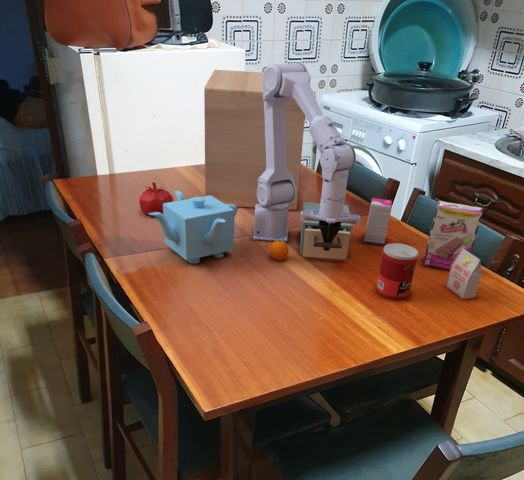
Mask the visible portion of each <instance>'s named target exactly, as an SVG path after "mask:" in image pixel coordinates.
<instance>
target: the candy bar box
mask: <svg viewBox="0 0 524 480" xmlns="http://www.w3.org/2000/svg"><path fill="white" fill-rule="evenodd" d="M483 210H484V209H483V207H478V206H475V205H474V206H473V205H466V204H461V203H455V202H449V201H443V200H438V201H437V205H436V208H435V212H434V216H433V219H432V223H431V227H430V231H429V236H428V238H427V244H426V247H425V250H424V255H423V259H422V266H424V267H425V266H426V267H429V268H430V267H431V268H436V269H440V270H441V269H442V270H445V271H450V268H451V265H452V263H453V262H454V260H455V259H456V257H457V256H458V254H459V252H460V250H461V248H462V249H465V250H466V251H468V252H469V253H471V254H472V249H473V246H474V243H475V240H476V236H477V233H478V230H479V227H480V224H481V220H482V216H483V212H484V211H483Z"/></svg>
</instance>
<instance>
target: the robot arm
mask: <svg viewBox="0 0 524 480" xmlns="http://www.w3.org/2000/svg"><path fill="white" fill-rule="evenodd" d="M262 73H263V74H262V84H263V100H264V116H265V142H266V171H265V172H264V173H263V174H262V175H261V176H260V177H259V178H258V188H257V199H258V201H259V203H260V204H256V206H255V208H254V219H253V221H254V222H253V224H252V225H253V226H252V230H253V237H252V238H253V240H257V241H268V242H269V241H272V242H274V241H277V240H281V241H284V242H285V243H287V242H288V237H289V236H288V234H289V230H288V218H289V217H288V216H289V210H288V207H289V206H291V202H292V201H293V200H294V199H295V197H296V187H295V184H294V176H293V175H292V174H291V173H290V172H289V171H288V170H287V169H286V125H285V105H286V104H287V102H288V101H289V100H290V99H291V98H293V99H295V101H296V102H297V104H298V105H299V107H300V108H301V110H302V111H303V113H304V114H305V118H306V119H307V120H308V122H309V128H308V133H309V134H310V136H311V138H312V140H313V141H314V143H315V145H316V147H317V149H318V151H319V153H320V156H319V164H320V167H321V177H322V185H321V195H320V202H319V203H320V210H318V211H303V210H301V211H300V222H301V221H305V220H307V221H319V228H320V230H321V233H322V237H323V242H325V243H332V242H333V239H334V238H335V236H336V234H337V233H338V232H339V230H340V228H341V223H348V224H352V225H355V226H360V225H361V215H360V214H355V213H350V212H349V213H350V214H349V213H344V212H343V208H344V205H345V199H346V193H347V186H348V178H349V172H350V171H349V170H351V169H352V168H353V167H354V166H355V163H356V160H357V154H356V150H355V148H354V146H353V144H351V143H350V142H347V141H346V140H344V139H343V138H342V136H341V134H340V133H339V130H338V129H337V127H336V125H335V122H334V120H333V118H331V117H330V116H326V115H324V114H323V111H322V109H321V107H320V105H319V102H318V101H317V100H318V99H317V97H316V96H315V94H314V92H313V91H314V90H313V89H312V87H311V77H312V76H311V74H310V72H309V71H308V68H307V66H306V65H305V64H304V63H303V62H295V63H278V64H276V63H270V64H268V65H267V66H266V68H265V69H264V71H263V72H262ZM329 223H330V225H329ZM328 232H329V234H328ZM329 250H330V248H326V247H324V251H329Z"/></svg>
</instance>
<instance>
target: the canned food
mask: <svg viewBox="0 0 524 480" xmlns="http://www.w3.org/2000/svg"><path fill="white" fill-rule="evenodd" d="M418 257H419V251H418V250H417V248H415V247H413V246H411V245H408V244H405V243H397V242H395V243H392V242H391V243H387V244H386V245H384V246H383V250H382V254H381V260H380V266H379V269H378V270H379V271H378V275H377V281H376V291H377V293H378V294H379V295H380V296H382V297H384V298H387V299H390V300H404V299H406V298H407V297H408V296H409V294H410V292H411V288H412V283H413V278H414V274H415V270H416V266H417V261H418Z"/></svg>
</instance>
